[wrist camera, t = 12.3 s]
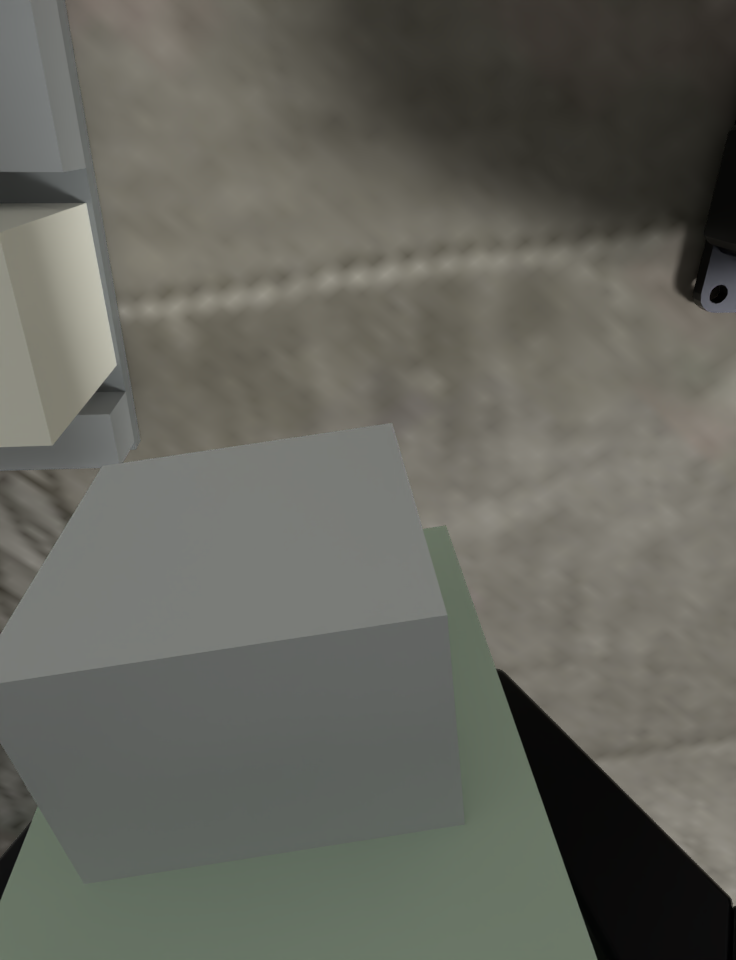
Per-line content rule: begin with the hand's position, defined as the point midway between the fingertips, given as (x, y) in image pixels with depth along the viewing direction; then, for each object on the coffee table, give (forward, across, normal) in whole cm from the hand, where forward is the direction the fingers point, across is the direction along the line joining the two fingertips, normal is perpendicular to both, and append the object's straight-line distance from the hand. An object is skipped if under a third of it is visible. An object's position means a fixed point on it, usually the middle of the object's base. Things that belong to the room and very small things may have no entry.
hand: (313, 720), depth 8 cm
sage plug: (+1, 0, +1) cm, 2 cm away
